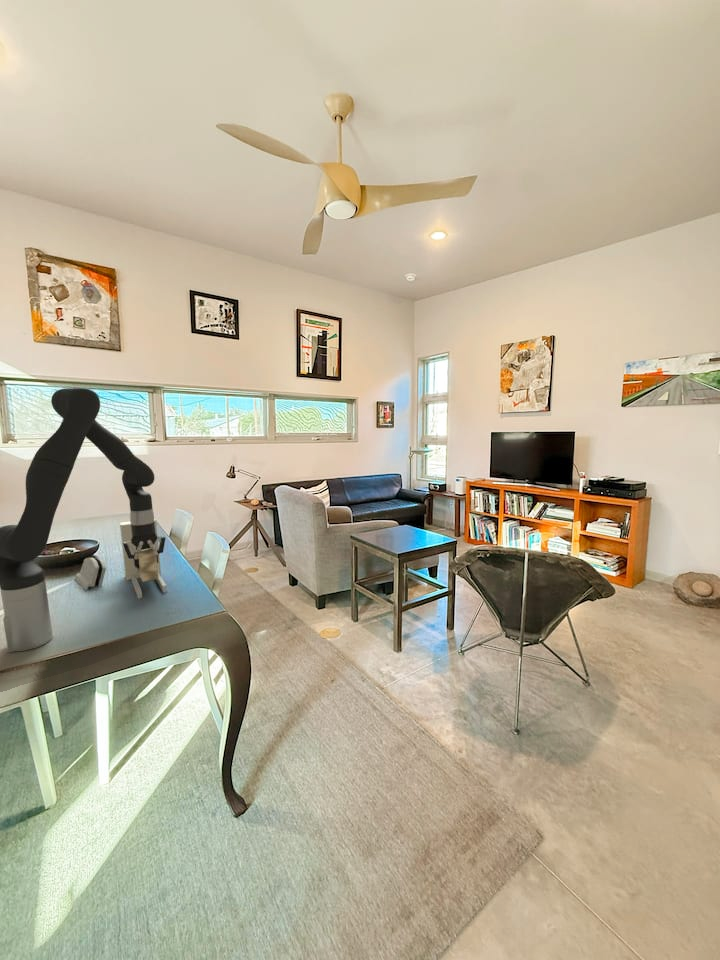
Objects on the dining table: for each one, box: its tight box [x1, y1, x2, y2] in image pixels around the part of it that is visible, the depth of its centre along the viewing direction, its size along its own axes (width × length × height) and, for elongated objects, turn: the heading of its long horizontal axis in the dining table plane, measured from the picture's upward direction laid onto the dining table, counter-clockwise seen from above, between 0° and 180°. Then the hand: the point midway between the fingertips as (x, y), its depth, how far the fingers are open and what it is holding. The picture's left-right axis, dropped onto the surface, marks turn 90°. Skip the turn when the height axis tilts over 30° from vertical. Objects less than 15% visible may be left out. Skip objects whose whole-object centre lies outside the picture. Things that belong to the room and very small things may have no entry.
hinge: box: [74, 557, 107, 591], centre depth 148 cm, size 17×5×10 cm, turn 48°
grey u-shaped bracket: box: [119, 517, 168, 599], centre depth 145 cm, size 12×26×22 cm, turn 36°
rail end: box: [135, 547, 158, 583], centre depth 142 cm, size 5×15×9 cm, turn 36°
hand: (146, 566), depth 142 cm, fingers closed on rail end, 5 cm apart
